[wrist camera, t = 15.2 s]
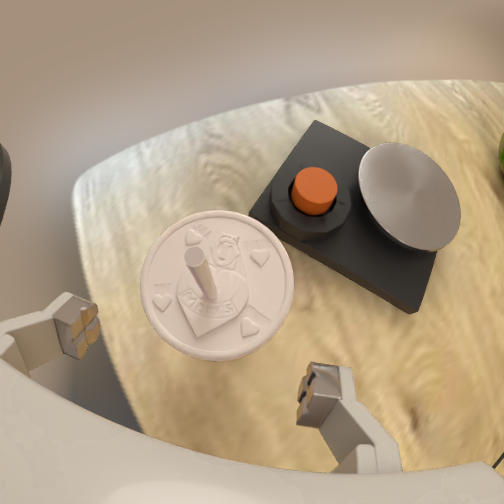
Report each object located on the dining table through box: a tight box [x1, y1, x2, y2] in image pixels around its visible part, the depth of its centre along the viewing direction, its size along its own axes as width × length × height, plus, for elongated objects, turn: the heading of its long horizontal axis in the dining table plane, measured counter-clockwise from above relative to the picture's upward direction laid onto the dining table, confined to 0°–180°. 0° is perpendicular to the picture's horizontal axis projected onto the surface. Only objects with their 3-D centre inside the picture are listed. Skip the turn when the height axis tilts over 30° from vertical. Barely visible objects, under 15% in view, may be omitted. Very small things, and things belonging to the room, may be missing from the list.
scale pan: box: [356, 143, 461, 252], centre depth 21 cm, size 10×10×1 cm
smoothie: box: [140, 210, 294, 362], centre depth 14 cm, size 6×6×14 cm
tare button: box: [291, 167, 338, 215], centre depth 21 cm, size 3×3×2 cm
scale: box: [249, 120, 437, 314], centre depth 23 cm, size 15×12×3 cm
